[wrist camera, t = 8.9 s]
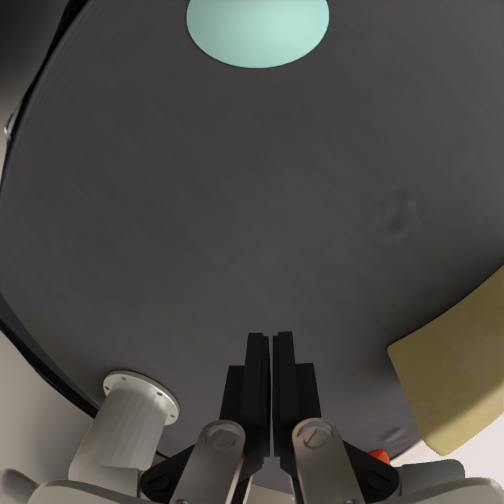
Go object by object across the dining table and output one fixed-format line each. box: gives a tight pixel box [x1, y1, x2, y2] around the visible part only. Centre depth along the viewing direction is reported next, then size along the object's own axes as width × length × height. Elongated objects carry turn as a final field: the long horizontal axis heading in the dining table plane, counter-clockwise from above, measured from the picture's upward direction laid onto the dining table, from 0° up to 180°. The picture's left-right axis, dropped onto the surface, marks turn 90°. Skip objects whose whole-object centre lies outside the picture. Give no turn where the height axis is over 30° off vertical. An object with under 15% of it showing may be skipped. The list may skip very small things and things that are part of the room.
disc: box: [187, 0, 329, 68], centre depth 18 cm, size 13×13×1 cm
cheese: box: [387, 265, 504, 456], centre depth 21 cm, size 22×10×15 cm, turn 134°
